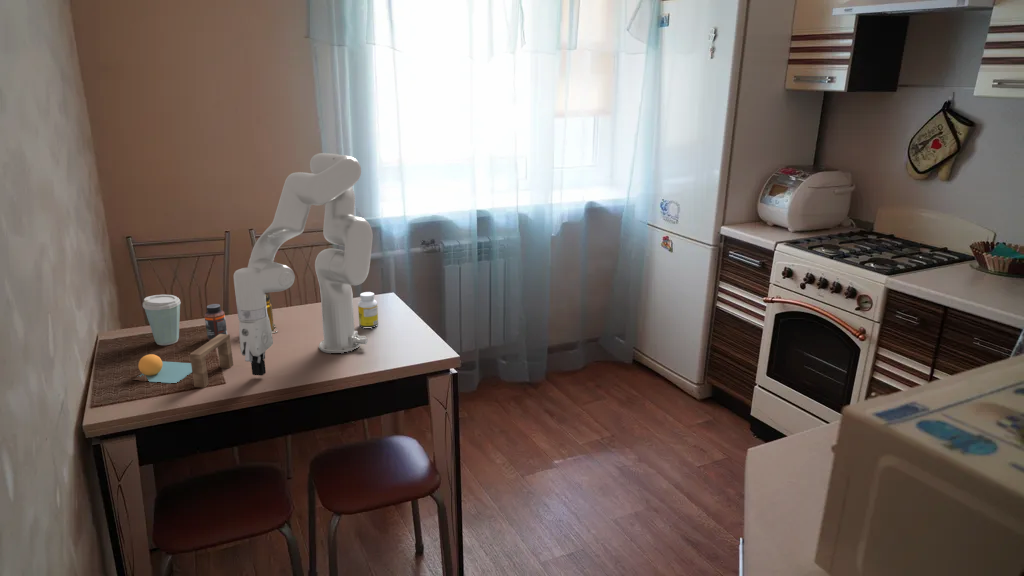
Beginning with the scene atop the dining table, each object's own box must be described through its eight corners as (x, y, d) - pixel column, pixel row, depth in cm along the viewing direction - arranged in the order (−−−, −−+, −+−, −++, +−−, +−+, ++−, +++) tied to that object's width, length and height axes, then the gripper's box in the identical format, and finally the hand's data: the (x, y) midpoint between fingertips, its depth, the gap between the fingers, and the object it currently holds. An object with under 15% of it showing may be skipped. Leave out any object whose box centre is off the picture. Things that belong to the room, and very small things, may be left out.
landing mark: (202, 364, 194) (202, 364, 194) (176, 383, 182) (175, 383, 182) (161, 361, 196) (161, 361, 196) (132, 380, 183) (132, 380, 183)
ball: (147, 370, 190) (167, 372, 190) (134, 377, 184) (155, 379, 184) (146, 350, 189) (166, 352, 188) (132, 357, 183) (154, 359, 183)
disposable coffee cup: (176, 333, 218) (170, 289, 213) (192, 341, 211) (186, 296, 206) (143, 342, 210) (135, 297, 205) (158, 351, 203) (150, 305, 199)
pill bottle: (363, 322, 230) (361, 290, 227) (381, 323, 229) (379, 291, 226) (356, 328, 224) (354, 296, 221) (374, 330, 223) (373, 297, 220)
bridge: (233, 365, 194) (229, 334, 191) (204, 387, 180) (200, 354, 177) (223, 364, 195) (219, 333, 192) (194, 386, 180) (189, 354, 177)
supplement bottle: (231, 336, 216) (227, 303, 213) (221, 342, 210) (217, 309, 207) (213, 335, 217) (209, 302, 213) (204, 341, 211) (199, 308, 208)
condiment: (254, 335, 217) (250, 301, 213) (252, 327, 224) (248, 293, 220) (277, 332, 220) (274, 298, 216) (274, 324, 227) (271, 291, 223)
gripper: (252, 323, 173) (259, 386, 179) (278, 304, 187) (283, 364, 193) (225, 321, 174) (232, 384, 180) (252, 303, 188) (259, 362, 194)
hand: (259, 373), depth 186 cm, fingers closed
